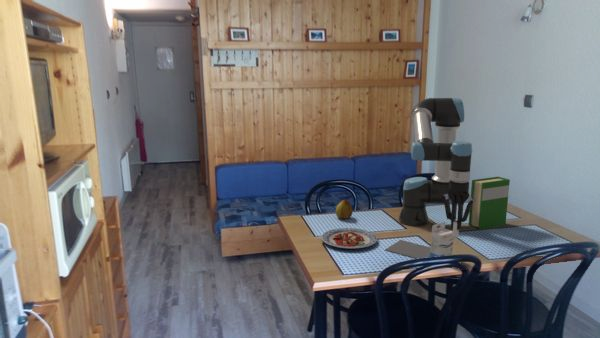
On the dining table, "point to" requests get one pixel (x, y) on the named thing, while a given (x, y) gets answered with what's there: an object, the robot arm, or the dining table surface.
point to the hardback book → (489, 202)
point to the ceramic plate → (349, 238)
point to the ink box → (441, 241)
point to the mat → (410, 249)
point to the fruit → (344, 209)
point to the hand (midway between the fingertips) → (455, 236)
